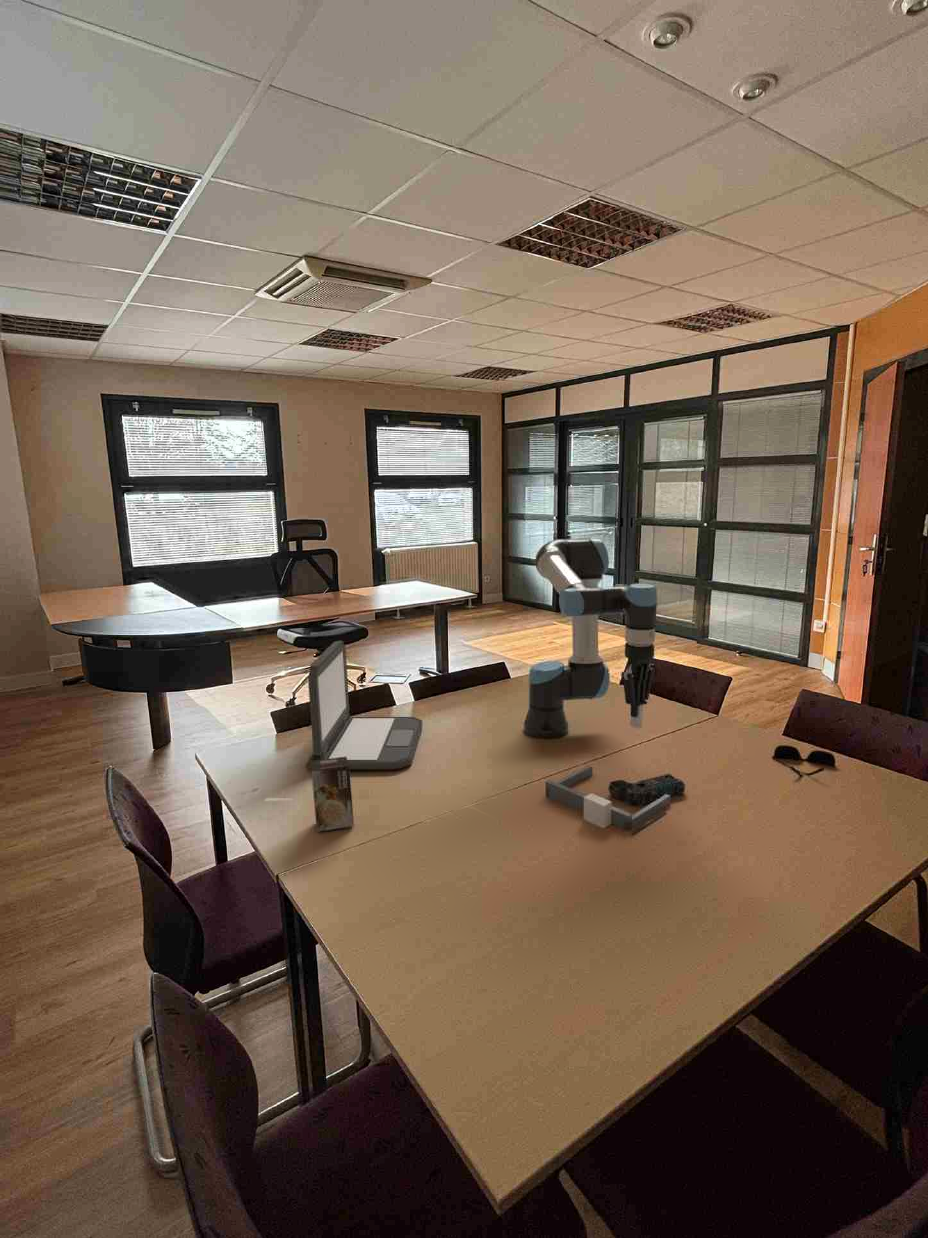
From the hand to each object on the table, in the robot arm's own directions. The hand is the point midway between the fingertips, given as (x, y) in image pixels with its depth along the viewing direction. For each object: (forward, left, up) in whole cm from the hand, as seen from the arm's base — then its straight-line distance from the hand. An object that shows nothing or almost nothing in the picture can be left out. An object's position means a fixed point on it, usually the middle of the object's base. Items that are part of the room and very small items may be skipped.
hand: (636, 726), depth 171 cm
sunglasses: (+29, +40, -17) cm, 53 cm away
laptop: (-74, -38, -17) cm, 85 cm away
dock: (0, -14, -17) cm, 22 cm away
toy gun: (+1, -2, -15) cm, 15 cm away
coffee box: (-40, -71, -17) cm, 83 cm away
